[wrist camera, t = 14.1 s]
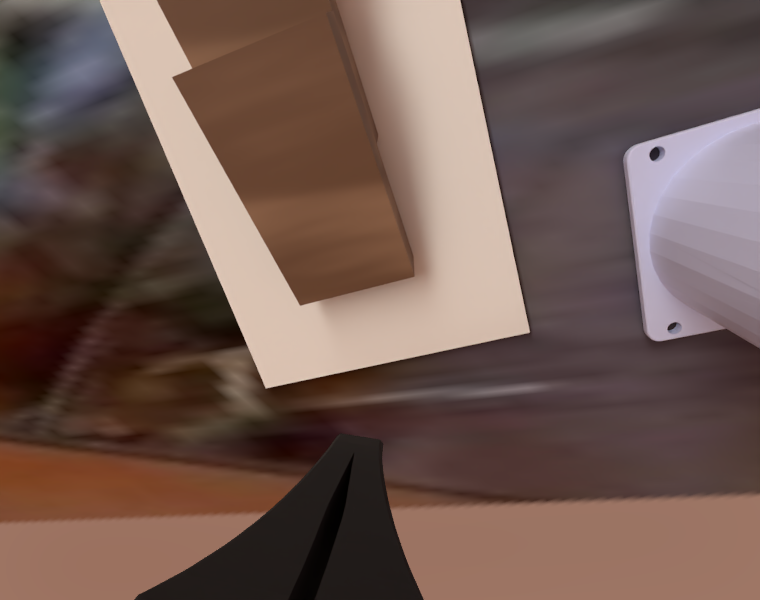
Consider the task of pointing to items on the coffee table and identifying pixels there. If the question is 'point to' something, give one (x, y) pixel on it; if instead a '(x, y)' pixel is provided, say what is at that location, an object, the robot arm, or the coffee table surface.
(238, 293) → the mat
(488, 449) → the coffee table surface
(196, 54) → the tile
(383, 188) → the tile
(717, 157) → the robot arm
